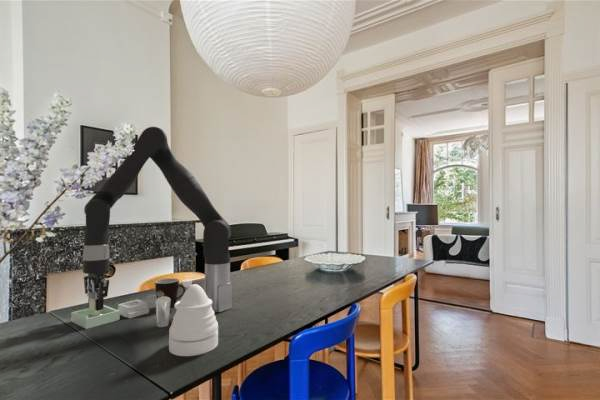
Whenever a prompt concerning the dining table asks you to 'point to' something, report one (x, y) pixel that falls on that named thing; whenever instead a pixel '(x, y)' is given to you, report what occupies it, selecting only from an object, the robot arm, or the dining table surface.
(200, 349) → the honey pot
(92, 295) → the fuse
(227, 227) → the robot arm
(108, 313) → the tray
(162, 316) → the milkshake
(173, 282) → the coffee mug
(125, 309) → the holder
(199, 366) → the dining table surface
